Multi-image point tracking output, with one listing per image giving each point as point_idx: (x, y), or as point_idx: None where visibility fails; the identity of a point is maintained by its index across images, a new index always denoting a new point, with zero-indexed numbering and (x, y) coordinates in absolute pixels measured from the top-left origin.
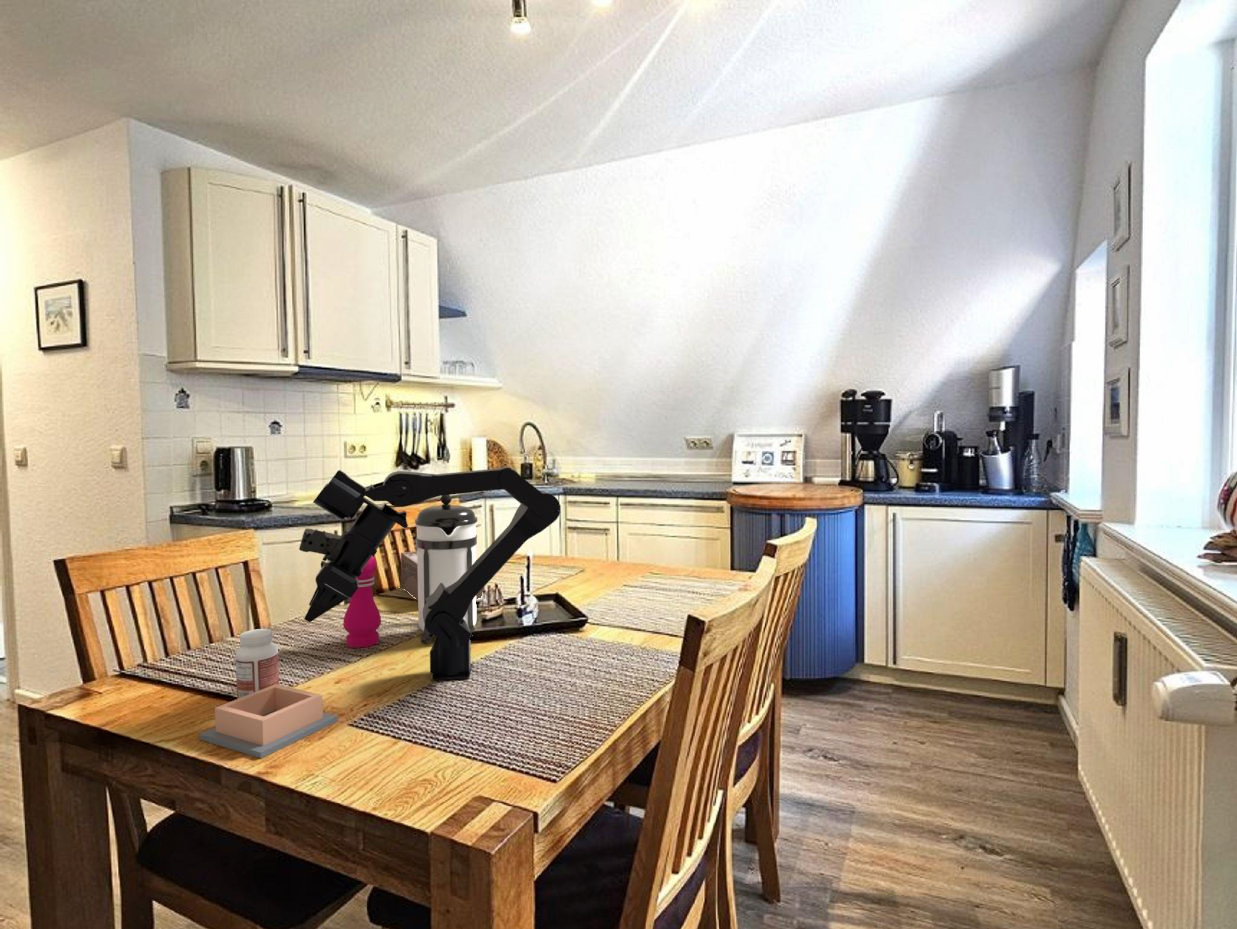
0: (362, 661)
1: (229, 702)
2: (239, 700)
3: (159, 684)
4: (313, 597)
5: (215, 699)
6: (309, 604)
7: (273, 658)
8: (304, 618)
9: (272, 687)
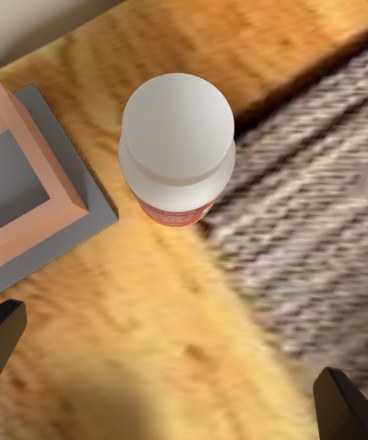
0: (314, 436)
1: (11, 105)
2: (10, 123)
3: (360, 38)
4: (349, 417)
5: None
6: (328, 369)
7: (136, 196)
8: (9, 299)
9: (52, 193)
